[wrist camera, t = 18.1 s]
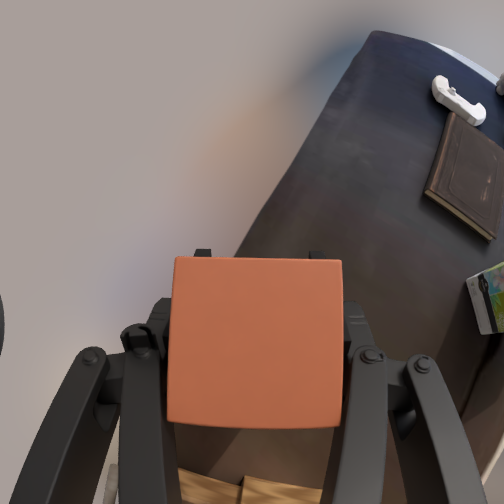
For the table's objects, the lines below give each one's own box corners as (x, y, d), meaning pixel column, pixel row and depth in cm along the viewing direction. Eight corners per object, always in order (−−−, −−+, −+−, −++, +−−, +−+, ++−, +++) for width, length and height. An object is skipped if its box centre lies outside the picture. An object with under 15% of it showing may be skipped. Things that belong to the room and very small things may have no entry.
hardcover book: (502, 158, 49) (508, 153, 46) (489, 243, 43) (496, 239, 41) (446, 116, 52) (450, 110, 49) (421, 193, 46) (427, 187, 44)
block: (213, 385, 17) (165, 422, 8) (216, 301, 18) (174, 255, 9) (300, 387, 17) (341, 427, 8) (302, 303, 18) (342, 258, 9)
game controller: (489, 107, 49) (488, 122, 45) (480, 119, 53) (478, 136, 49) (439, 69, 52) (432, 80, 48) (431, 83, 56) (423, 95, 52)
